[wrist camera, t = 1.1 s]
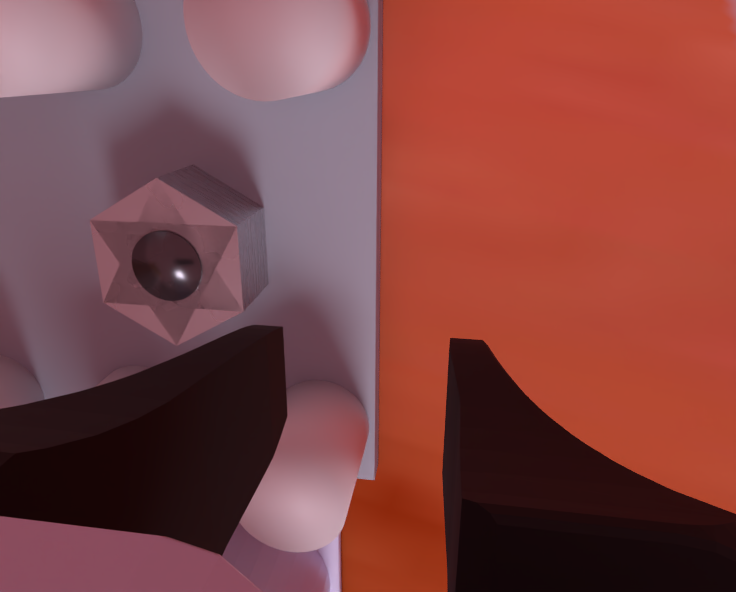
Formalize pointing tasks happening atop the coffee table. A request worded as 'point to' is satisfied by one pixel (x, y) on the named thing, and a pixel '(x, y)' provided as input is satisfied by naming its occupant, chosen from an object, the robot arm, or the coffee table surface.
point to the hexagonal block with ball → (181, 253)
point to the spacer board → (226, 163)
